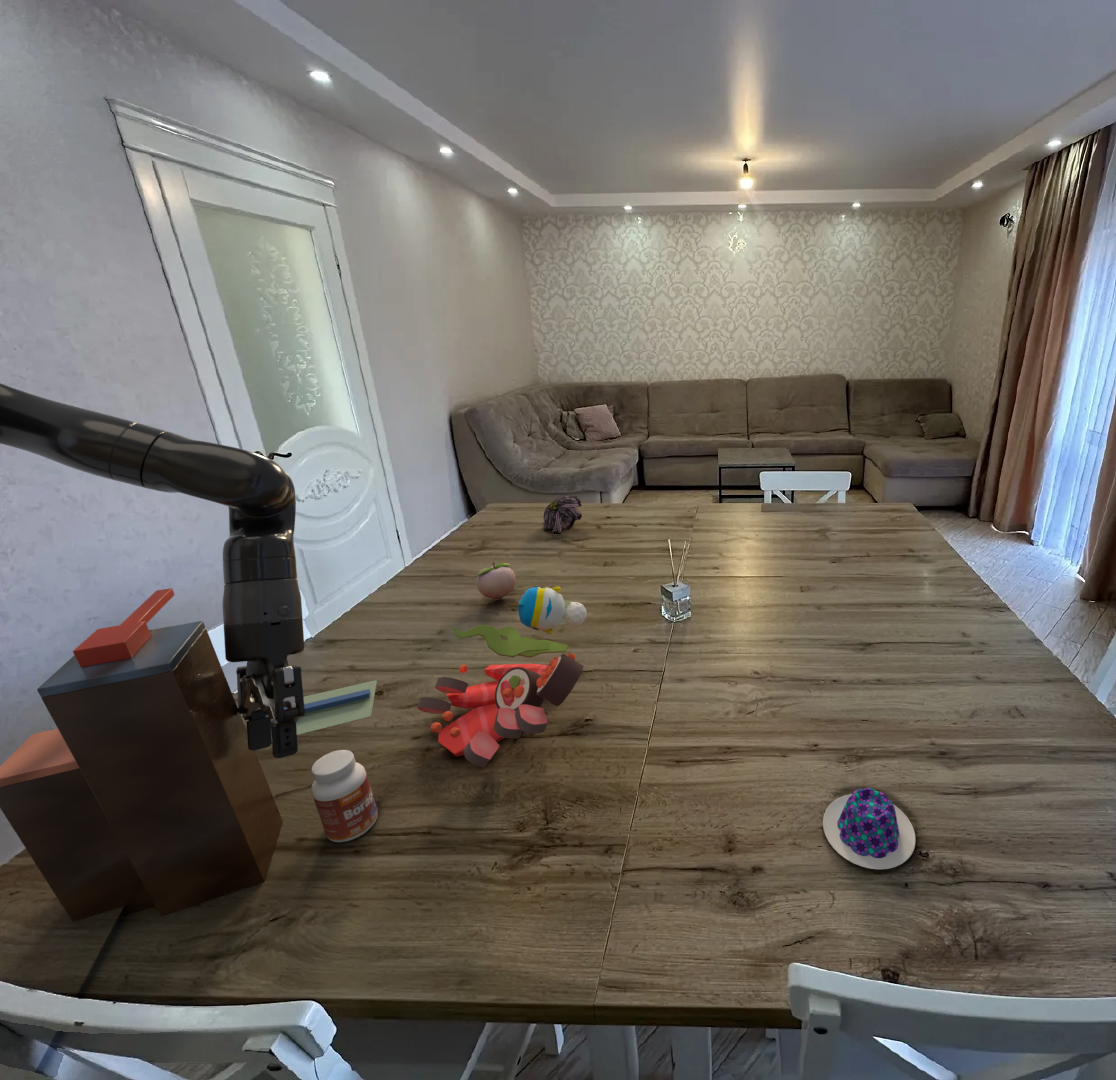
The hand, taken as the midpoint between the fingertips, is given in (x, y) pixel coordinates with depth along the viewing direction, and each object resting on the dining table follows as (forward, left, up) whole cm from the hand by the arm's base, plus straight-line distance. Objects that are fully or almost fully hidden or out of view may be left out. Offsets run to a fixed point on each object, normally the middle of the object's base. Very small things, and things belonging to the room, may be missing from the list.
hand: (272, 752), depth 68 cm
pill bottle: (+5, +2, -17) cm, 17 cm away
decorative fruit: (+30, +65, -17) cm, 73 cm away
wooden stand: (-13, +2, -16) cm, 21 cm away
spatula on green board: (-4, +33, -16) cm, 37 cm away
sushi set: (+28, +18, -17) cm, 37 cm away
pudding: (+68, -30, -17) cm, 76 cm away
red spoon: (-10, +8, +16) cm, 20 cm away
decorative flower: (+54, +111, -17) cm, 125 cm away
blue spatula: (-4, +33, -16) cm, 37 cm away
